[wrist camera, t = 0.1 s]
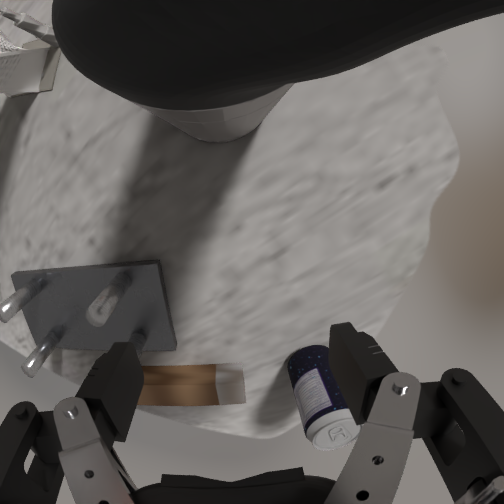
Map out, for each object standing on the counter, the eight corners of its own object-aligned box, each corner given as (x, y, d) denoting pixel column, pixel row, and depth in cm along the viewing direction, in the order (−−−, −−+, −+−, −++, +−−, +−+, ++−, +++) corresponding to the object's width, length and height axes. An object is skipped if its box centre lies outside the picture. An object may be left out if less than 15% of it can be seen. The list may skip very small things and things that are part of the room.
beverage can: (295, 382, 34) (316, 458, 22) (279, 352, 32) (300, 434, 20) (336, 365, 33) (371, 436, 22) (325, 332, 32) (363, 408, 20)
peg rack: (16, 271, 26) (-24, 300, 19) (159, 259, 27) (135, 297, 20) (40, 340, 30) (11, 377, 22) (177, 344, 31) (165, 395, 23)
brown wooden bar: (122, 384, 32) (115, 403, 29) (114, 364, 31) (106, 383, 28) (244, 383, 33) (246, 403, 30) (242, 362, 32) (243, 382, 29)
